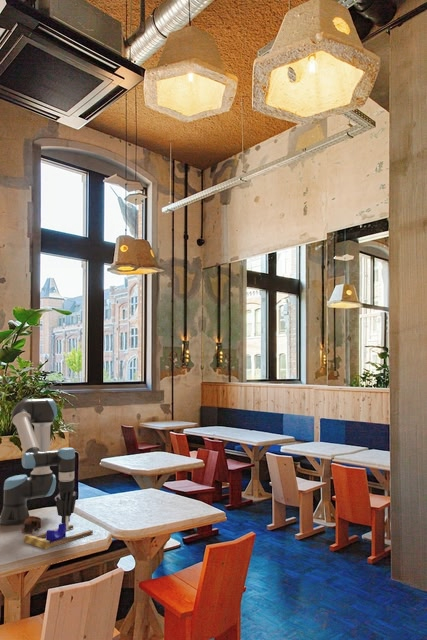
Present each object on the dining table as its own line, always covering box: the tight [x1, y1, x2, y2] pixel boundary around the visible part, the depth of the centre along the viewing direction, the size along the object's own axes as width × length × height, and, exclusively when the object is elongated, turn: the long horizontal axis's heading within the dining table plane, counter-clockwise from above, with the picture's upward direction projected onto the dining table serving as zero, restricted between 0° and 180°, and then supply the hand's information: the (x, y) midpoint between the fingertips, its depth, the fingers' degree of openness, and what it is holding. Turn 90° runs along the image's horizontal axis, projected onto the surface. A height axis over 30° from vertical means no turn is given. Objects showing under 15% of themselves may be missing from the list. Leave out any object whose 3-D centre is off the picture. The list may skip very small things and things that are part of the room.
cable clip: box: [45, 522, 67, 542], centre depth 243 cm, size 12×4×6 cm, turn 165°
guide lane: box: [23, 524, 94, 550], centre depth 246 cm, size 17×27×3 cm, turn 144°
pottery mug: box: [21, 515, 42, 534], centre depth 257 cm, size 12×10×8 cm
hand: (65, 529), depth 249 cm, fingers closed
